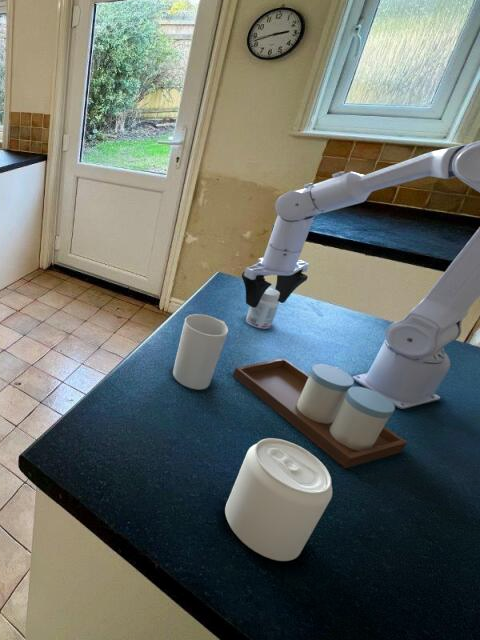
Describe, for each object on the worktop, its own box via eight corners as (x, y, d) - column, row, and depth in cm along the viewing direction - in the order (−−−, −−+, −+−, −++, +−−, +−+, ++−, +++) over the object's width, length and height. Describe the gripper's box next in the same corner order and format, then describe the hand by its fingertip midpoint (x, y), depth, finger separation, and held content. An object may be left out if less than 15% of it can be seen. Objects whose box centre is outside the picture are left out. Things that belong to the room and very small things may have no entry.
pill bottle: (268, 320, 94) (280, 288, 91) (272, 331, 91) (284, 298, 87) (244, 315, 96) (254, 283, 93) (247, 326, 92) (258, 293, 89)
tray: (280, 366, 80) (283, 357, 79) (401, 452, 62) (408, 442, 62) (232, 376, 78) (235, 367, 77) (345, 468, 60) (350, 458, 59)
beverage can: (271, 576, 47) (308, 509, 42) (209, 513, 54) (234, 448, 49) (315, 546, 50) (353, 480, 45) (250, 489, 57) (278, 426, 52)
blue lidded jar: (345, 421, 67) (365, 383, 64) (381, 448, 62) (404, 408, 59) (320, 428, 66) (339, 389, 62) (355, 455, 61) (377, 415, 58)
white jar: (311, 397, 72) (328, 361, 68) (343, 420, 67) (362, 382, 64) (288, 403, 71) (304, 366, 67) (318, 426, 66) (337, 388, 63)
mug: (195, 395, 73) (212, 340, 68) (163, 373, 79) (176, 320, 73) (230, 377, 77) (248, 324, 72) (197, 357, 83) (212, 306, 78)
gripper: (294, 236, 91) (274, 289, 96) (240, 242, 87) (223, 298, 93) (326, 248, 84) (303, 305, 90) (269, 256, 81) (249, 314, 87)
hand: (264, 302), depth 91 cm, fingers open, 7 cm apart
